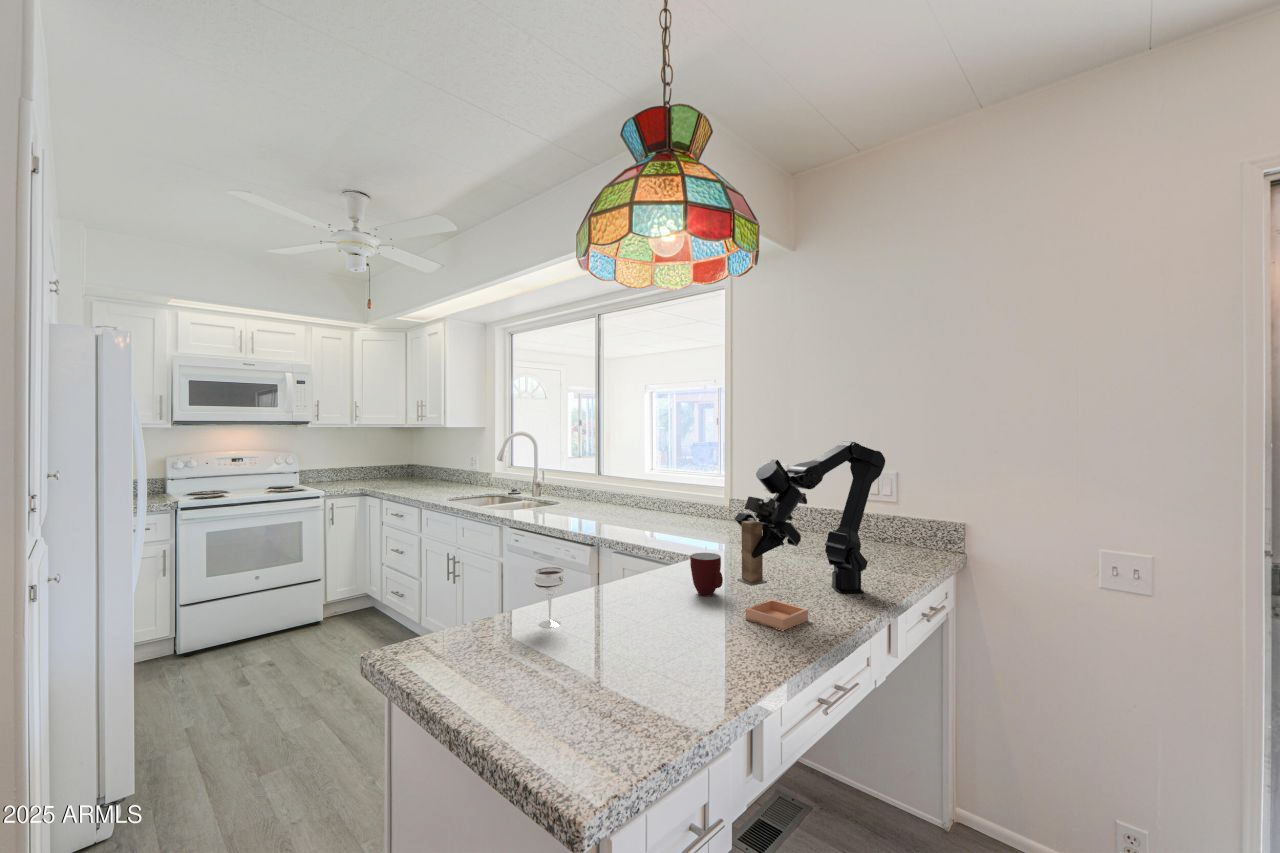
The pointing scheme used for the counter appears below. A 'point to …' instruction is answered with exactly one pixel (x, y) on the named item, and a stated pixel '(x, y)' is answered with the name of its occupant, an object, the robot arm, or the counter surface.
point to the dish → (777, 614)
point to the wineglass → (549, 588)
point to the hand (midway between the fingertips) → (747, 555)
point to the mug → (706, 572)
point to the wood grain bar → (750, 565)
